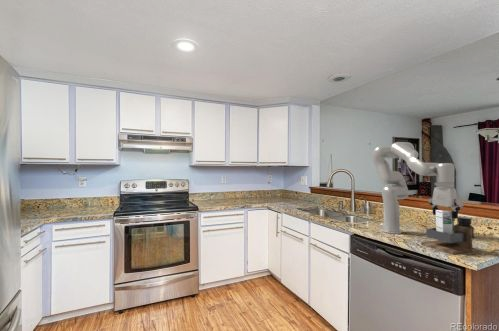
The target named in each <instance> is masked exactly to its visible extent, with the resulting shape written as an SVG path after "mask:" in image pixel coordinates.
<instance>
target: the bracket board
mask: <svg viewBox="0 0 499 331" xmlns="http://www.w3.org/2000/svg"><path fill="white" fill-rule="evenodd" d="M454 230H457V231H461V232H466V241H464V242H455V243H448V242H444V241H441V240H437V239H434V240H429V241H421V243H420V245H421V246H424V247H427V248H431V249H434V250H437V251H441V252H443V253H447V254H450V255H459V254H465V253H472V252H473V238H472V228H467V227H462V226H457V225H456V224H454Z"/></svg>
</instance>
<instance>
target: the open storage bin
mask: <svg viewBox="0 0 499 331" xmlns="http://www.w3.org/2000/svg"><path fill="white" fill-rule="evenodd" d="M425 229H426V230H425V235H426V238H430V239H434V240H441V241H444V242H448V243H455V242H464V241H466V232H461V231H457V230H454V234H448V233H444V232H439V231H436V227H430V228H425Z"/></svg>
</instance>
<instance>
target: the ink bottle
mask: <svg viewBox="0 0 499 331" xmlns="http://www.w3.org/2000/svg"><path fill="white" fill-rule="evenodd" d="M456 222H457V223H456V224H455V225H457V226H462V227H467V228H472V239H473V238H474V237H475V235H474V234H475V232H474V229H475V227H474V226H472V217H467V216H458V217H457V219H456Z"/></svg>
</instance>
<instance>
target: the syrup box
mask: <svg viewBox="0 0 499 331" xmlns="http://www.w3.org/2000/svg"><path fill="white" fill-rule="evenodd" d="M452 211H453V210H447V209H438V210H436V215H435V225H436V226H435V228H436V231H439V232H444V233H448V234H454V225H455V219H452Z"/></svg>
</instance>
